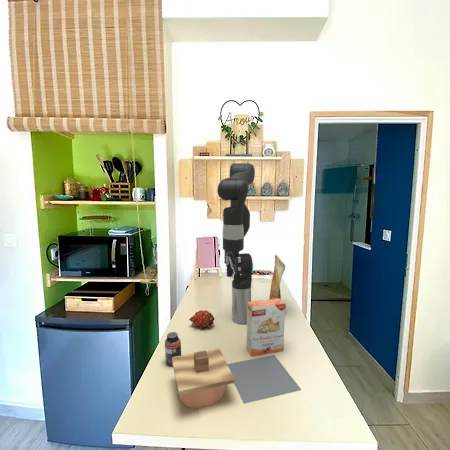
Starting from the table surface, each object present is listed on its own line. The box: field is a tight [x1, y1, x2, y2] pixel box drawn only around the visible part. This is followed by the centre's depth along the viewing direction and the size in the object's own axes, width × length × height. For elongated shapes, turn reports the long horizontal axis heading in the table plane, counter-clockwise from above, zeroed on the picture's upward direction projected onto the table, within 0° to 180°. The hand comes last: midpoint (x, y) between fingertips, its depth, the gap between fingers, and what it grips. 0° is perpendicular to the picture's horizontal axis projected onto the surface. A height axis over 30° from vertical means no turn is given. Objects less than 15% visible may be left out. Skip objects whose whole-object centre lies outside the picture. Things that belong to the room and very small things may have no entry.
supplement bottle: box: [164, 331, 182, 367], centre depth 110 cm, size 6×6×11 cm
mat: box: [227, 354, 302, 404], centre depth 101 cm, size 20×20×1 cm
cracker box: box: [246, 298, 286, 358], centre depth 115 cm, size 14×6×21 cm, turn 105°
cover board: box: [172, 348, 235, 396], centre depth 94 cm, size 17×17×6 cm
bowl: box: [178, 385, 226, 410], centre depth 95 cm, size 15×15×7 cm
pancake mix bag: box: [268, 254, 286, 301], centre depth 151 cm, size 7×19×28 cm, turn 176°
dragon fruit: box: [189, 309, 215, 329], centre depth 137 cm, size 8×8×12 cm
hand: (233, 280), depth 106 cm, fingers open, 8 cm apart
